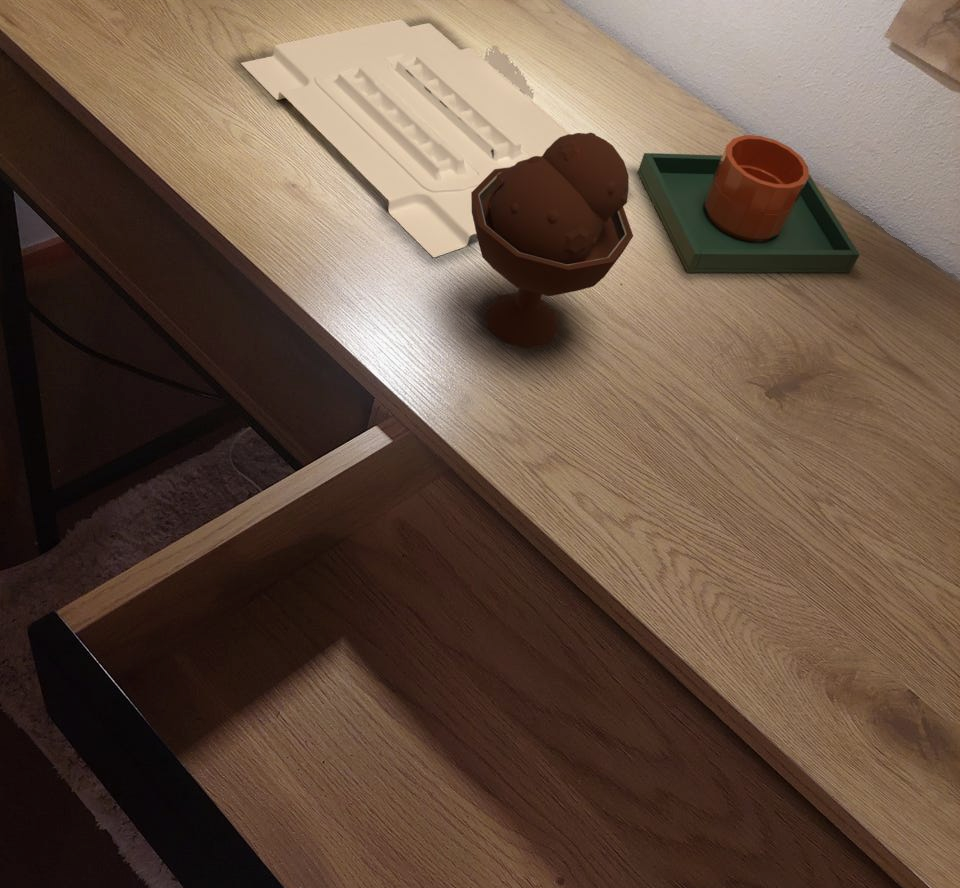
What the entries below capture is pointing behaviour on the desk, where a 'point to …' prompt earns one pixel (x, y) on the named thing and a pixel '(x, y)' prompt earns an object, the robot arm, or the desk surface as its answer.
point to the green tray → (706, 249)
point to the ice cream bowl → (550, 230)
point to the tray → (413, 117)
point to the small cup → (755, 187)
